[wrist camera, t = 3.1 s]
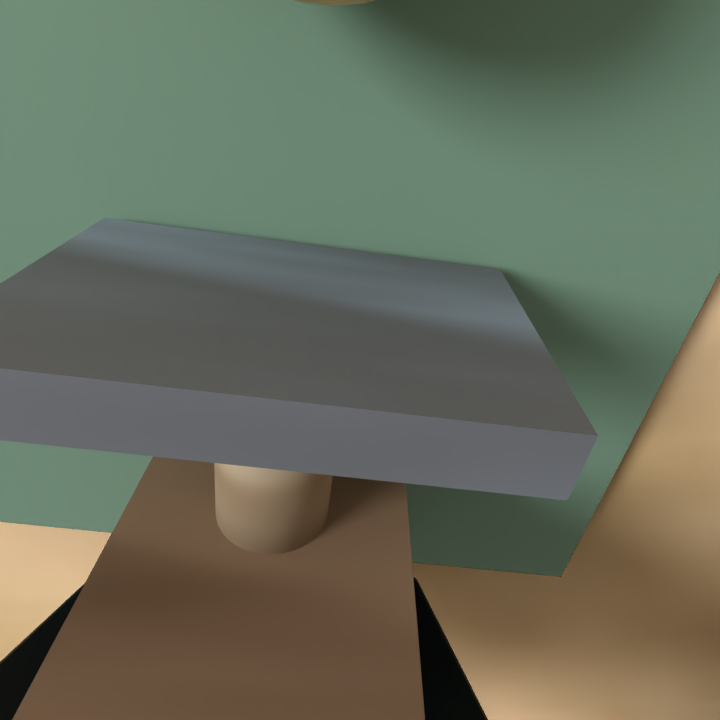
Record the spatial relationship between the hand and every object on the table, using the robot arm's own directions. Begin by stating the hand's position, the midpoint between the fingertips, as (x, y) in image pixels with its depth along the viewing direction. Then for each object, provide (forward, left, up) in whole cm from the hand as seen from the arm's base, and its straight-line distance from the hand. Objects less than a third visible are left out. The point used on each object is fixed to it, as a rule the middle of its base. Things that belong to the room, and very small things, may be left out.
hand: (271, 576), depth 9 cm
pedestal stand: (+2, 0, -2) cm, 3 cm away
